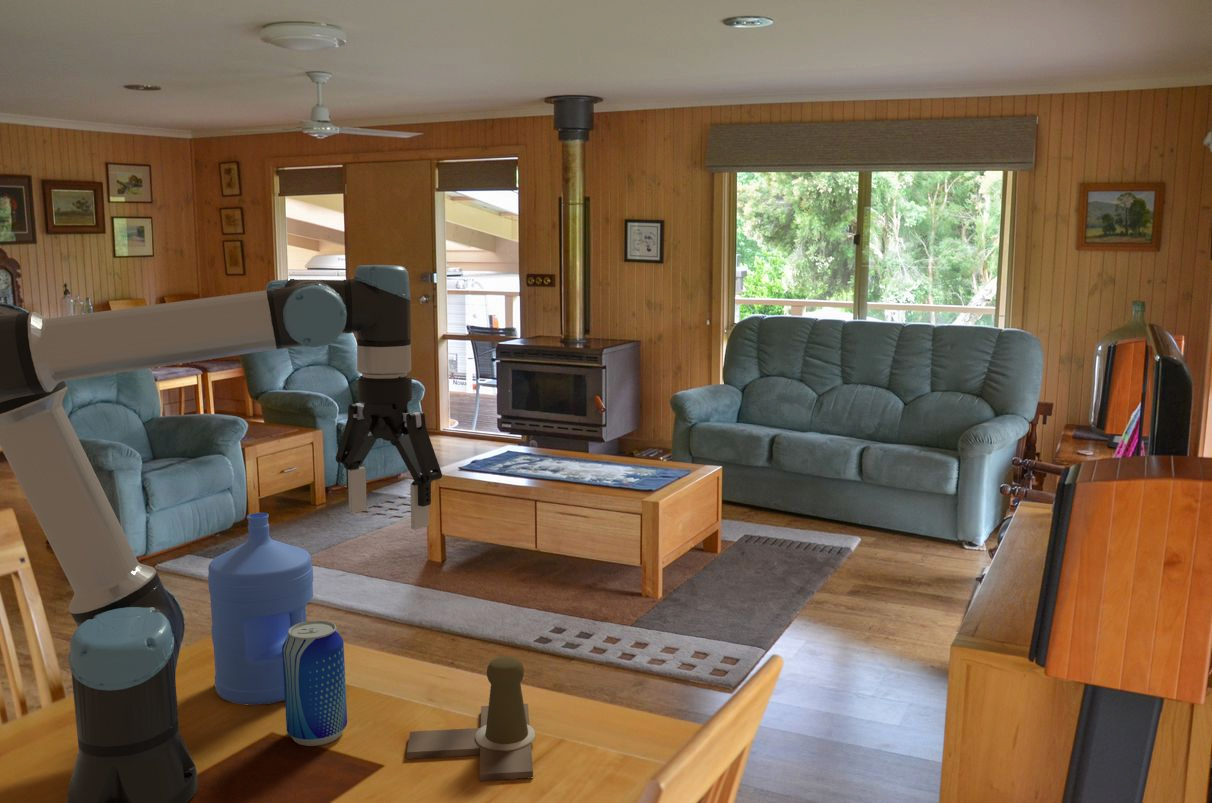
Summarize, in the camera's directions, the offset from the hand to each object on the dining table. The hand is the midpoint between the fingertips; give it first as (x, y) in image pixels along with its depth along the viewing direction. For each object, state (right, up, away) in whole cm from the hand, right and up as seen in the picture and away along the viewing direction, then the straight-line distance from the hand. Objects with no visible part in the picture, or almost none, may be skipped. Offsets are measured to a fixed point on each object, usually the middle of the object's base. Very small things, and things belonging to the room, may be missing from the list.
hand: (388, 519), depth 152 cm
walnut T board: (+13, -31, -5) cm, 34 cm away
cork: (+18, -30, -4) cm, 35 cm away
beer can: (-10, -31, -1) cm, 33 cm away
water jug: (-22, -28, +15) cm, 39 cm away
